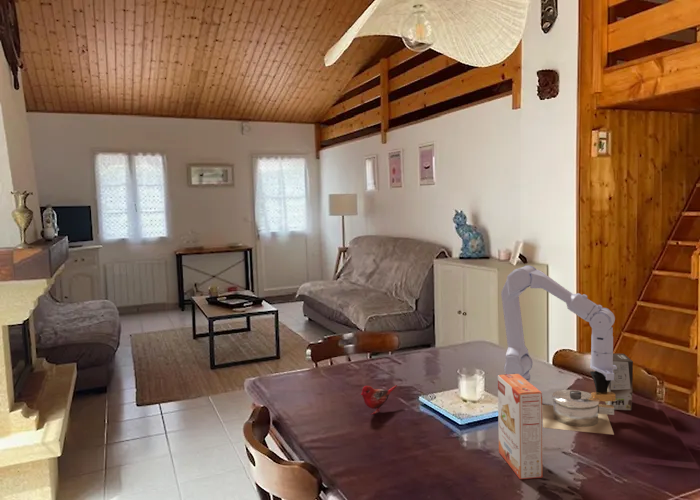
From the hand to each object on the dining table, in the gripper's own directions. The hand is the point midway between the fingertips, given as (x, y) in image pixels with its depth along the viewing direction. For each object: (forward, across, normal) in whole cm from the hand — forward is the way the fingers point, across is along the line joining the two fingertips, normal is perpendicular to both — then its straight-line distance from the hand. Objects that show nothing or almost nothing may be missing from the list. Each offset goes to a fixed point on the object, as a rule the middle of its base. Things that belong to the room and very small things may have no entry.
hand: (601, 396), depth 158 cm
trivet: (+7, -2, +8) cm, 11 cm away
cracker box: (+7, -30, +29) cm, 42 cm away
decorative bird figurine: (+7, +3, +65) cm, 65 cm away
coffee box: (+7, +10, -8) cm, 14 cm away
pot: (+6, -3, +6) cm, 9 cm away
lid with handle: (0, -2, +6) cm, 6 cm away
